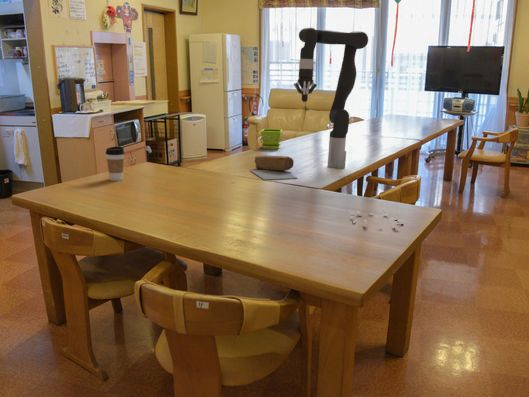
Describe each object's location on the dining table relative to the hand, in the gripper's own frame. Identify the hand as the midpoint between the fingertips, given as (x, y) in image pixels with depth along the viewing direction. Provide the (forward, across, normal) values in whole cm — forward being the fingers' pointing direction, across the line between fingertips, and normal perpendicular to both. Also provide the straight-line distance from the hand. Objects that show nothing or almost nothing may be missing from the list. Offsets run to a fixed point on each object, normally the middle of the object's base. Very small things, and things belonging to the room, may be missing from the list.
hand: (304, 101), depth 259 cm
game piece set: (+38, +12, +94) cm, 102 cm away
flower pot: (+37, -11, -74) cm, 84 cm away
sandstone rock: (+32, +10, +7) cm, 34 cm away
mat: (+37, +20, +10) cm, 43 cm away
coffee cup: (+37, +98, +6) cm, 105 cm away
